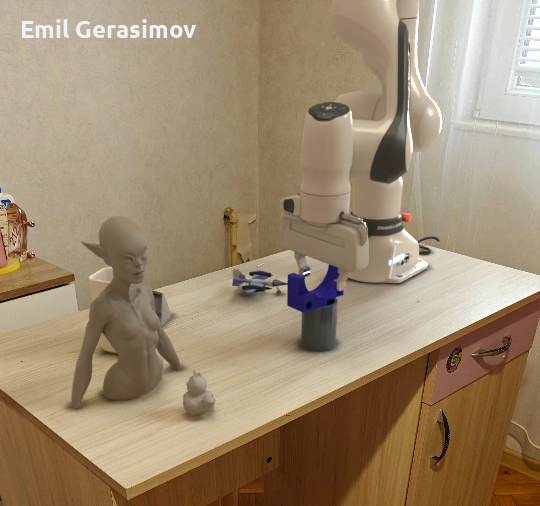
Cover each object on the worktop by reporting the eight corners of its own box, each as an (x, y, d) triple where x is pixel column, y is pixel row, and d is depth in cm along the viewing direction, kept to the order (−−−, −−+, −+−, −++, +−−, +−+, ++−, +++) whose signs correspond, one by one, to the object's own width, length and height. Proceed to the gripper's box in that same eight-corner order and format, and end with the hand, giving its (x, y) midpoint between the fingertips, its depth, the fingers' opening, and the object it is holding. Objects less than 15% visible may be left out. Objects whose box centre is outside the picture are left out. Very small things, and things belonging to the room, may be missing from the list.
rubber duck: (198, 400, 124) (195, 358, 119) (226, 413, 120) (224, 370, 116) (175, 413, 120) (171, 369, 116) (203, 426, 117) (200, 382, 112)
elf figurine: (97, 425, 117) (68, 239, 100) (67, 403, 123) (34, 224, 105) (205, 381, 130) (196, 209, 112) (173, 363, 135) (160, 197, 118)
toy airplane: (303, 295, 163) (303, 280, 161) (249, 308, 158) (249, 292, 155) (273, 278, 172) (273, 263, 170) (221, 289, 167) (221, 274, 165)
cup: (129, 359, 137) (120, 283, 128) (95, 353, 139) (84, 278, 130) (147, 344, 142) (139, 270, 134) (115, 339, 144) (105, 265, 136)
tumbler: (318, 333, 147) (320, 291, 142) (342, 344, 143) (345, 301, 137) (293, 342, 143) (294, 299, 138) (317, 354, 139) (319, 310, 134)
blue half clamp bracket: (303, 312, 133) (304, 281, 129) (287, 305, 135) (287, 274, 132) (349, 297, 139) (351, 266, 135) (332, 290, 142) (334, 260, 138)
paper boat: (188, 312, 152) (160, 315, 145) (173, 334, 156) (144, 337, 148) (155, 271, 154) (125, 272, 147) (141, 293, 158) (111, 295, 151)
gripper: (380, 216, 123) (373, 294, 131) (299, 192, 135) (297, 264, 144) (354, 223, 120) (349, 302, 128) (273, 198, 132) (273, 272, 140)
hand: (321, 282), depth 136 cm, fingers open, 8 cm apart
